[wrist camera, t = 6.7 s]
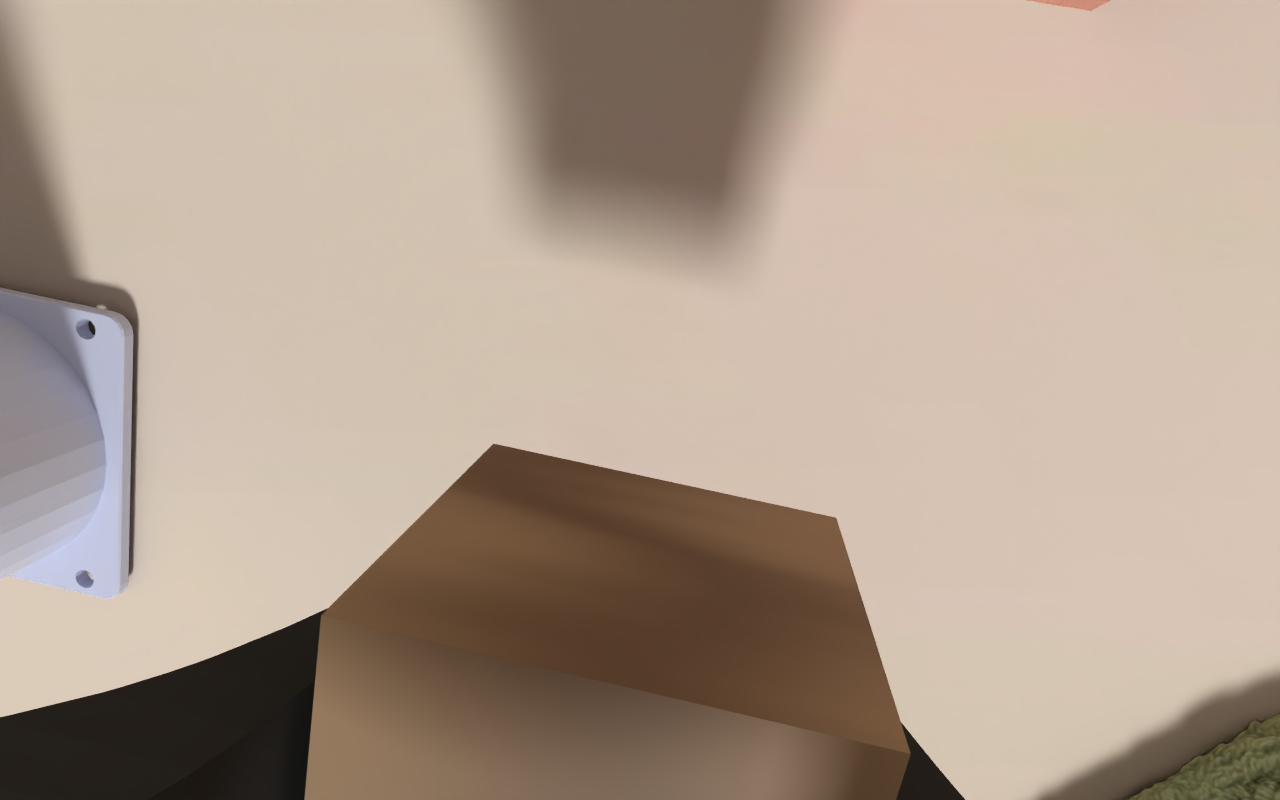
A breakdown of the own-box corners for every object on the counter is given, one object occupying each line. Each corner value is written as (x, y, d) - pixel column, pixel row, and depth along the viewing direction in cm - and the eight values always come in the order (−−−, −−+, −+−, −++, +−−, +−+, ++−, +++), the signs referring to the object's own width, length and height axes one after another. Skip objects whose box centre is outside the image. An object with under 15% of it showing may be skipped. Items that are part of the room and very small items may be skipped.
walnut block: (451, 734, 13) (281, 1052, 8) (493, 443, 12) (321, 616, 7) (758, 808, 13) (771, 1187, 8) (836, 517, 11) (910, 753, 6)
